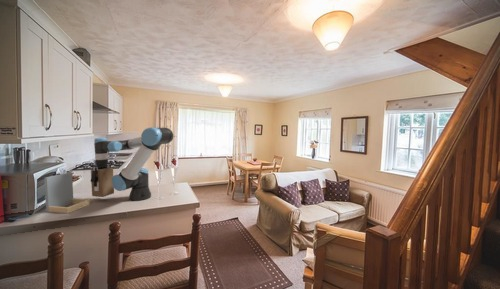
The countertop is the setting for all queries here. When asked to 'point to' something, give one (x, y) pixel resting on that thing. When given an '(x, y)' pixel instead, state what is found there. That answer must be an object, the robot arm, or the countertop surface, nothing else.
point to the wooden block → (103, 182)
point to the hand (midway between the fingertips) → (103, 188)
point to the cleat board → (61, 194)
